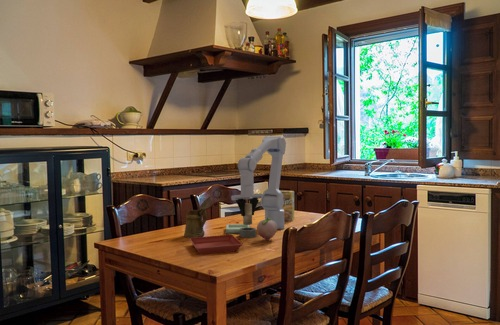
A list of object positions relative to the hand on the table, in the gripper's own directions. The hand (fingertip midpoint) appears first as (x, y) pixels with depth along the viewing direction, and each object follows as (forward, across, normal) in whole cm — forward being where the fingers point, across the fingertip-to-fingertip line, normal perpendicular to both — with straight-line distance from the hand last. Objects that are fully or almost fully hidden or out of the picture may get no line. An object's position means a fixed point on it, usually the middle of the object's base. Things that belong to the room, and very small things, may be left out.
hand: (247, 215), depth 202 cm
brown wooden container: (+9, +20, -10) cm, 24 cm away
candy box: (+9, -34, -25) cm, 44 cm away
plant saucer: (+10, +21, +14) cm, 27 cm away
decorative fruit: (+9, -3, +12) cm, 15 cm away
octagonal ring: (+9, 0, 0) cm, 9 cm away
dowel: (+4, 0, 0) cm, 4 cm away
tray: (+9, -1, -12) cm, 15 cm away
